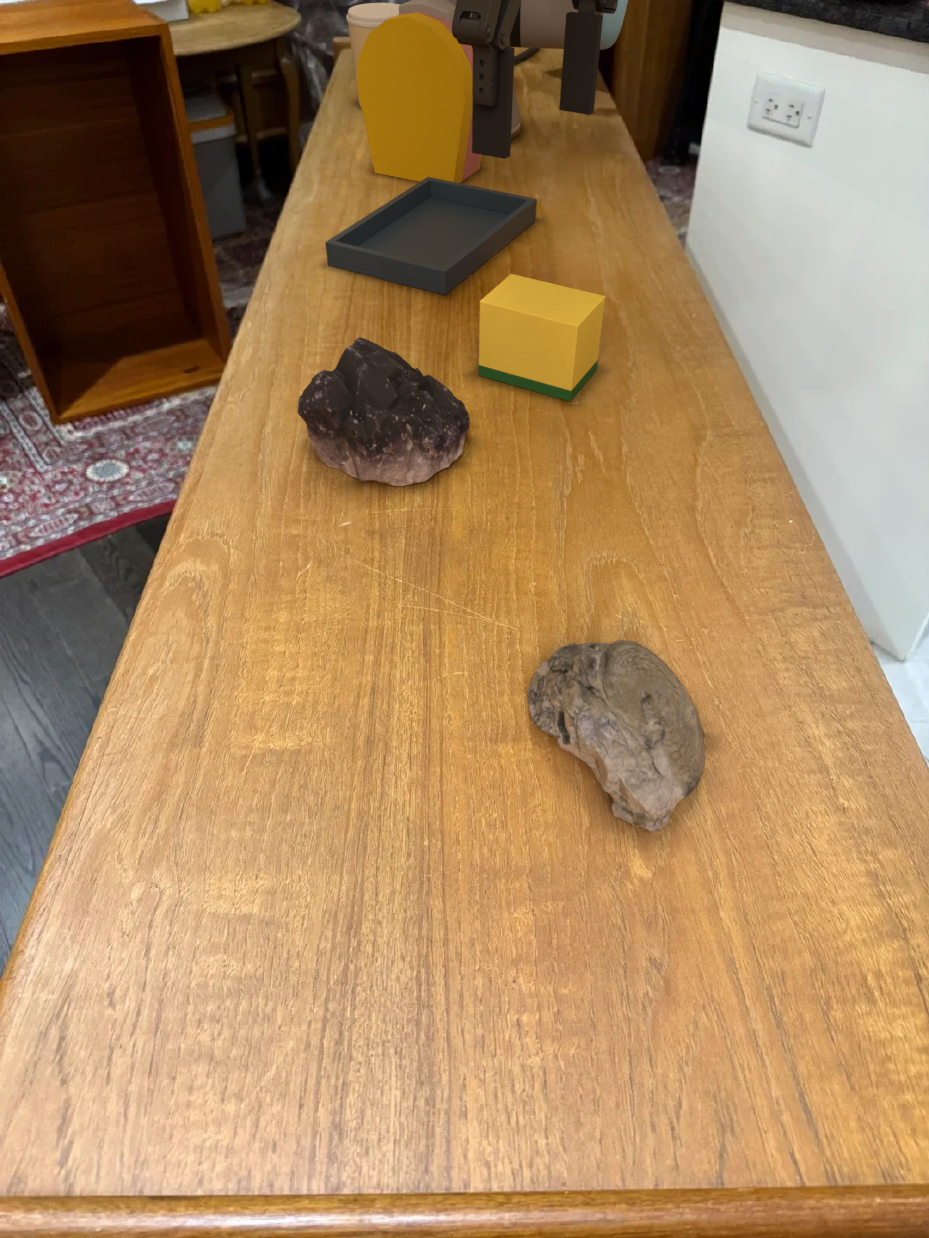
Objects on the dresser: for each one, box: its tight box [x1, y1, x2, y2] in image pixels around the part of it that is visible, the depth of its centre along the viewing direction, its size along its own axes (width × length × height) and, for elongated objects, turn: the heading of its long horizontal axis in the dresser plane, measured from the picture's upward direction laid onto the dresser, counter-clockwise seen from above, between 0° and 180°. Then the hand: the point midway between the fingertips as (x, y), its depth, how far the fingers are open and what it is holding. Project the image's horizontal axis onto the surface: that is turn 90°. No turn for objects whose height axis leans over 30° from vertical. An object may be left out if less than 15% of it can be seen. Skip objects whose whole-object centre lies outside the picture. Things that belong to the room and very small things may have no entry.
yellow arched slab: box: [357, 0, 483, 183], centre depth 108 cm, size 15×8×18 cm, turn 63°
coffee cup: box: [345, 2, 401, 107], centre depth 129 cm, size 9×9×12 cm
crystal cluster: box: [297, 336, 471, 487], centre depth 68 cm, size 13×14×10 cm
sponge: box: [478, 273, 606, 402], centre depth 77 cm, size 6×9×7 cm, turn 61°
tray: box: [325, 177, 538, 296], centre depth 98 cm, size 22×15×2 cm
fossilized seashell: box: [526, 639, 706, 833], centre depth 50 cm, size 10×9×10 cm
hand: (536, 132), depth 66 cm, fingers open, 13 cm apart
